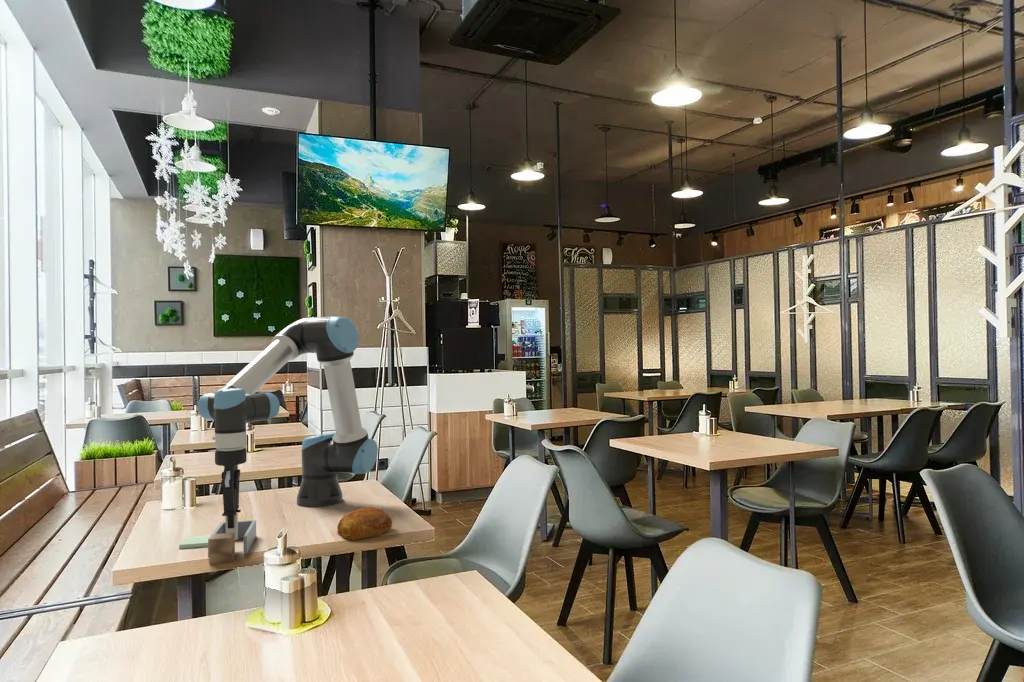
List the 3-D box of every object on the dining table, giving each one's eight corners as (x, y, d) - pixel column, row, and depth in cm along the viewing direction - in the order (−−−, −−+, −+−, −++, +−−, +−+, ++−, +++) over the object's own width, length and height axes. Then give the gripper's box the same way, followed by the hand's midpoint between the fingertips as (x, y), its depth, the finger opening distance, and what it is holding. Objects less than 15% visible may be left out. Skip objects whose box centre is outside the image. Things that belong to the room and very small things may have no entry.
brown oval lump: (399, 539, 184) (403, 511, 185) (352, 543, 173) (356, 513, 174) (371, 529, 194) (374, 502, 195) (324, 532, 183) (328, 503, 184)
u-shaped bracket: (256, 536, 181) (256, 520, 181) (246, 553, 165) (246, 536, 165) (221, 538, 179) (221, 522, 179) (208, 557, 163) (208, 539, 163)
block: (234, 556, 163) (234, 532, 163) (231, 562, 158) (231, 537, 158) (213, 558, 162) (213, 534, 162) (209, 564, 157) (209, 539, 157)
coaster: (218, 538, 180) (218, 534, 180) (212, 546, 172) (212, 542, 172) (186, 540, 178) (186, 536, 178) (179, 548, 170) (179, 544, 170)
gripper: (219, 445, 174) (221, 533, 173) (209, 453, 161) (211, 548, 161) (249, 444, 175) (251, 531, 175) (242, 451, 163) (243, 545, 163)
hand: (231, 539), depth 168 cm, fingers closed
